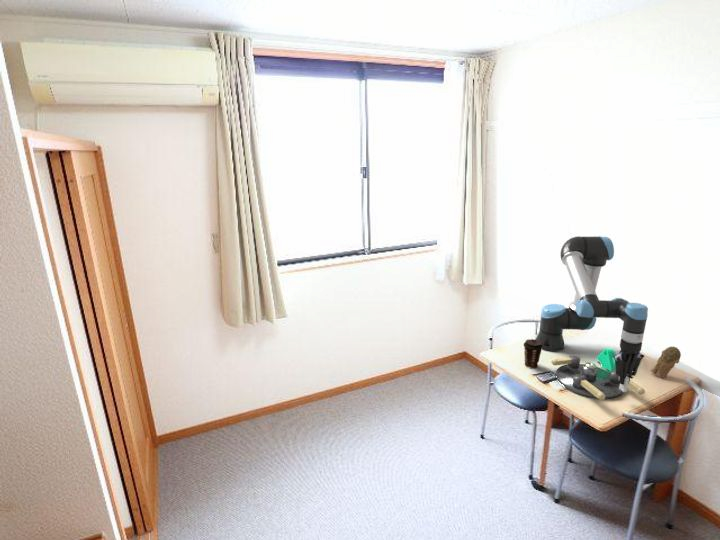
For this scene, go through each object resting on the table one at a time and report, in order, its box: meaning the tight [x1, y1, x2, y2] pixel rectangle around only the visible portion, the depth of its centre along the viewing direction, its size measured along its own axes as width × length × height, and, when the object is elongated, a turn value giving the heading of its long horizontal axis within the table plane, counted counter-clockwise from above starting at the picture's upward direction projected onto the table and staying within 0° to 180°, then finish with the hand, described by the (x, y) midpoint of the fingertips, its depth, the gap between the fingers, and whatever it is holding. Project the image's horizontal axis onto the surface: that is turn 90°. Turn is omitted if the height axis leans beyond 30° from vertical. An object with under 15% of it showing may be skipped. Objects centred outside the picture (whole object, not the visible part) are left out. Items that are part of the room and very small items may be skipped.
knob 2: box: [610, 370, 646, 396], centre depth 184 cm, size 18×5×5 cm, turn 10°
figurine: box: [650, 346, 682, 378], centre depth 196 cm, size 8×8×15 cm
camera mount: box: [596, 348, 616, 372], centre depth 206 cm, size 12×8×10 cm, turn 2°
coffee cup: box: [523, 339, 543, 369], centre depth 209 cm, size 9×8×13 cm
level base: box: [555, 361, 624, 400], centre depth 193 cm, size 28×28×10 cm
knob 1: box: [573, 374, 606, 401], centre depth 181 cm, size 18×5×5 cm, turn 10°
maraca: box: [551, 354, 581, 369], centre depth 203 cm, size 14×5×5 cm, turn 100°
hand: (622, 390), depth 178 cm, fingers closed
